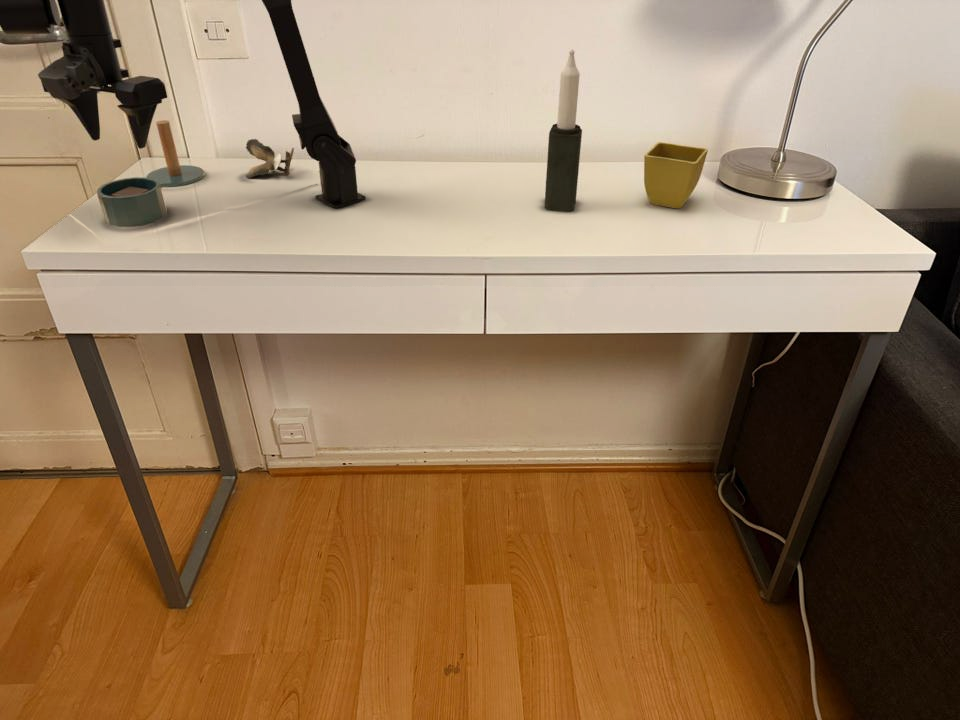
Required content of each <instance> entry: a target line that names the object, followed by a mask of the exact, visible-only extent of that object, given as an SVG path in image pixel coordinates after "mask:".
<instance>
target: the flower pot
mask: <svg viewBox="0 0 960 720" xmlns="http://www.w3.org/2000/svg"><path fill="white" fill-rule="evenodd" d="M708 152H709V149H708V148H706V147H705V148H704V147H698V146H690V145H681V144H677V143H676V144H675V143H671V142H661V141H659V142H656V143H655V144H654V145H653V146H652V147H651V148H650V149H649V150H648V151H647V152H646V153H645V154H644V155H643V156H644V158H643V162H644V163H643V184H644V188H645V193H646V196H647V198H648V200H649V202H650V204H652V205H655V206H660V207H661V206H662V207H666V208H667V207H668V208H673V209H681V208H682V207H683V206H684V204H685V203H686V201H688V199H689V198H690V196H691V195H692V193H693V192H694V190H695V189H696V187H697V185H698V183H699V181H700V178H701V175H702V173H703V169H704V166H705V162H706V159H707V155H708Z"/></svg>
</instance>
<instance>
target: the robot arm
mask: <svg viewBox="0 0 960 720" xmlns="http://www.w3.org/2000/svg"><path fill="white" fill-rule="evenodd" d="M261 2H262V4H263V5H264V7H265V9H266V11H267V13H268V16H269V19H270V22H271V25H272V28H273V31H274V33H275V37H276V40H277V43H278V47H279V49H280V52H281V55H282V58H283V62H284V64H285V67H286V70H287V73H288V76H289V79H290V83H291V85H292V88H293V91H294V94H295V97H296V100H297V104H298V110H299V111H298V112H299V113H295V114H292V115H291V118H292V123H293V127H294V129H295V131H296V133H297V135H298V139H299V145H300V149H301V150H303V151H304V149H305V150H306V153H307V155H308V156H309V157H310V158H311V159H313V160H315V161H316V162H318V169H319V171H318V172H319V179H320V187H321V193H320V194H316V195H314V198H315V200H317V201H319V202H321V203H323V204H325V205H327V206H329V207H332V208H334V209H339V208H343V207H346V206H349V205H352V204H356V203H359V202H362V201H365V200H366V198H367V197H366V196H365V195H364V194H361V193H359V192H358V191H359V190H358V183H357V171H356V170H357V169H356V163H357V158H356V156H355V154H354V152H353V148H352V146H351V144H350V142H348V141H346V140H345V139H344V137H342V136H341V135H340V134H339V132H338V130H337V127H336V125H335V123H334V121H333V119H332V117H331V115H330V114H329V111H328V109H327V108H326V105H325V104H324V102H323V100H322V97H321V96H320V93H319V89H318V86H317V83H316V79H315V77H314V74H313V70H312V67H311V64H310V61H309V56H308V54H307V51H306V48H305V45H304V41H303V39H302V34H301V32H300V28H299V24H298V22H297V19H296V15H295V12H294V9H293V5H292V3H293V2H292V0H261ZM105 4H106V3H105V0H0V28H1V30H2V32H4V34H5V35H8V36H11V35H12V36H13V35H14V36H16V35H17V36H18V35H53V34H54V33H55V27H58V26H61V18H62V22H63V26H64V29H65V33H66V35H67V39H68V41H64V42H63V41H62V42H61V43H62V45H61V50H62V55H63V56H62V57H60V58H58V59H56V60H54V61H53V62H52V63H50V64H49V65H47V66H46V67H45V68H43V69H42V70H41V71H39V72H38V74H37V76H38V78H39V80H40V82H41V85H42V88H43V92H44V93H48V94H49V95H50V96H51V97H52V98H53V99H55V100H56V99H57V100H59V102H62V103H64V104H65V105H67V106H68V107H69V108H70V109H71V111H72V112H73V113H74V115H75V116H76V117H77V119H78V120H79V122H80V123H81V125H82V127H83V128H84V130H85V131H86V132H87V134H88V135H89V137H90V138H91V140H92V141H94V142H95V141H98V140H100V139H101V126H100V125H101V124H100V114H99V113H100V112H99V101H98V100H99V99H98V92H103V93H109V94H114V95H115V98H116V99H117V101H118V102H119V103H120V104H118V105H117V107H118V109H120V110H121V111H122V112H123V113H124V114H125V115H126V116H127V120H128V122H129V126H130V128H131V132H132V135H133V139H134V142H135V144H136V147H137V148H138V149H139V150H141V149H145V148H146V147H147V142H148V137H149V135H150V130H151V126H152V122H153V119H154V116H155V113H156V110H157V107H158V105H159V104H162V103H163V100H165V99H168V92H167V88H166V85H165V82H164V81H163V80H162V79H160V78H158V77H153V76H146V75H138V76H134V77H130V73H129V70H128V69H125V68H121V64H120V61H119V56H118V52H117V49H119V48H122V47H123V46H122V42H121V41H122V40H121V39H120V38H114V35H113V32H112V29H111V25H110V21H109V15H108V12H107V8H106V5H105ZM60 15H61V17H60ZM129 77H130V78H129Z"/></svg>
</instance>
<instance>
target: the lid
mask: <svg viewBox="0 0 960 720" xmlns="http://www.w3.org/2000/svg"><path fill="white" fill-rule="evenodd" d="M155 125H156V128H157V132H158V137H159V141H160V144H161V148H162V152H163V157H164V160H165V165H166V166H165V167H161V168H158V169H154V170H153V171H150V172H149V173H147V175H146V177H145V178H152V179H156V180H157V181H159V182H160V184H161V188H162V187H163V188H167V187H169V188H171V187H180V186H181V187H182V186H186V185H190V184H194V183H196V182H198V181H201V180H202V179H203V178H204V177H205V175H206V174H205V171H204V169H203V168H202V167H200V166H195V165H187V164H184V165H183V164H182V165H180V160H179V155H178V152H177V148H176V143H175V139H174V134H173V131H172V127H171V123H170V120H165V119H164V120H163V119H162V120H158V121H156V122H155Z"/></svg>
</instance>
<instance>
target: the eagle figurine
mask: <svg viewBox="0 0 960 720" xmlns="http://www.w3.org/2000/svg"><path fill="white" fill-rule="evenodd" d="M245 149H246V150H247V153H248V152H249V154H250V155H251V156H253V157H255V158H256V159H258V160H260V161H263V162H264V163H262V164H257V165H255V166H253V167H251V168H250V169H249V171H248V172H247V173H246V174H245V178H246V179H251V178H254V177H256V176H259V175H260V176H264V175H266V174H268V173H270V172H275V170H276V171H279V172H282V173H284V174H285V176H290V169H291V168H290V167H291V163H292V159H293V156H294V151H295V148H294V147H292V148H291V150H290V152H289V151H288V150H285V158H284V159H283V155H282V153H281V152H278V153H277V155H275V151H274V150H273V149H272V148H271V147H270V145H264V144H263V143H262V142H260V141H259V140H258V139H256V138H251V139H248V141H247V142H246V144H245ZM281 164H284V168H283V167H282V166H280V165H281Z"/></svg>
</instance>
